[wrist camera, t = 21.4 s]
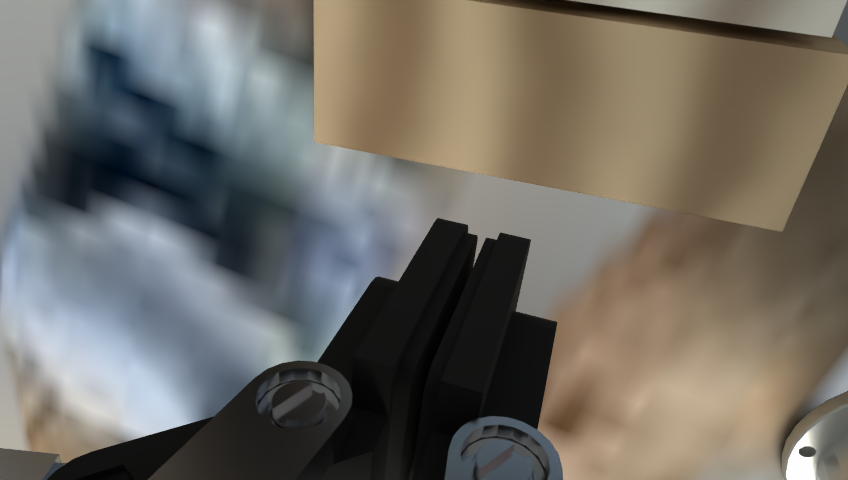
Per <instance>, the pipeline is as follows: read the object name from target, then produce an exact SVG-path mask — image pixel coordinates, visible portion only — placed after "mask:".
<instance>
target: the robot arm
mask: <svg viewBox="0 0 848 480" xmlns="http://www.w3.org/2000/svg"><path fill="white" fill-rule="evenodd" d="M477 238H478V237H477V235H473V234H469V233H468V225H466V224H461V223H457V222H453V221H448V220H444V219H440V218H437V219H436V221H435V222H434V224H433V226H432V227H431V229H430V231H429V232H428V234H427V236H426V237H425V239H424V240H423V242H422V244H421V245H420V247H419V249H418V250H417V252H416V254H415V255H414V257H413V259H412V260H411V262H410V264H409V265H408V267H407V269H406V270H405V272H404V273H403V275H402V277H401V278H400V280H399V282H398V281H394V280H390V279H386V278H382V277H376V278H374V280H373V281H372V282H371V283H370V285H369V286H368V288H367V289H366V291H365V292H364V294H363V295H362V297H361V298H360V300H359V301H358V303H357V304H356V306H355V307H354V309H353V310H352V311H351V313H350V314H349V316H348V317H347V319H346V320H345V322H344V323H343V325H342V326H341V328H340V329H339V331H338V332H337V334H336V335H335V337H334V338H333V340H332V341H331V343H330V344H329V346H328V347H327V349H326V350H325V352H324V353H323V355H322V356H321V357H320V359H319V360H318V362H312V361H293V362H287V363H281V364H279V365H276V366H274V367H271V368H268V369H267V370H265V371H264V372H262V373H261V374H260V375H258V376H257V377H255V378H254V379H253V380H252V381H251V382H250V383H249V384H248V385H247V386H246V387H245V388H244V389H243V390H242V391H241V392H240V393H238V394H237V395H236V396H235V397H234V398H233V399H232V400H231V401H230V402H229V403H228V404H227V405H226V406H225V407H224V408H223V409H222V410H221V411H219V412H218V413H217V414H216V415H215V416H214V417H211V418H207V419H204V420H200V421H197V422H194V423H190V424H187V425H183V426H180V427H176V428H173V429H169V430H166V431H162V432H159V433H155V434H152V435H148V436H145V437H141V438H138V439H134V440H131V441H127V442H124V443H120V444H117V445H114V446H110V447H107V448H103V449H100V450H96V451H93V452H90V453H88V454H85V455H82V456H80V457H77V458H75V459H73V460H71V461H70V462H68V463H62V462H61V458H60V455H59V454H51V453H42V452H32V451H22V450H13V449H3V448H0V480H563V473H562V466H561V462H560V458H559V454H558V453H557V451H556V450H555V448H554V447H553V445H552V443H551V442H550V441H549V440H548V439H547V438H546V437H545V436H544V435H543V434H542V433H541V432H539V431H538V430H537V428H538V423H539V418H540V412H541V407H542V402H543V396H544V391H545V386H546V380H547V375H548V370H549V364H550V359H551V354H552V348H553V343H554V338H555V332H556V326H557V322H555V321H551V320H547V319H543V318H539V317H535V316H531V315H527V314H523V313H520V312H516V307H517V302H518V297H519V293H520V288H521V284H522V279H523V274H524V270H525V265H526V261H527V256H528V252H529V247H530V242H531V240H530V239H526V238H521V237H517V236H513V235H508V234H504V233H500V234H499V236H498V239H497V240H494V239H490V238H486V239H485V242H484V244H483V246H482V249H481V251H480V253H479V255H478V258H477V260H476V263H475V265H474V267H473V264H474V258H475V252H476V246H477ZM782 472H783V476H784V480H848V391H847V392H845V393H843V394H840V395H838V396H836V397H834V398H831V399H829V400H827V401H826V402H824V403H823V404H821V405H819V406H818V407H816V408H815V409H813V410H812V411H810V412H809V413H808V414H807V415H806V416H805V417H804V418H803V419H802V420H801V421H800V422H799V423H798V424H797V425H796V426H795V427H794V429H793V430H792V432H791V434H790V435H789V437H788V438H787V440H786V443H785V446H784V449H783V452H782Z"/></svg>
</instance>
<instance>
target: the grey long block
mask: <svg viewBox="0 0 848 480" xmlns="http://www.w3.org/2000/svg"><path fill="white" fill-rule="evenodd" d="M569 1H577V2H584V3H591V4H598V5H605V6H612V7H619V8H626V9H633V10H640V11H647V12H654V13H661V14H668V15H675V16H683V17H690V18H697V19H704V20H711V21H718V22H725V23H732V24H739V25H746V26H753V27H760V28H767V29H774V30H782V31H789V32H796V33H803V34H810V35H817V36H824V37H831V38H832V36H833V33H834V31H835V28H836V26H837V24H838V21H839V19H840V16H841V14H842V12H843V9H844V7H845V4H846V2H847V0H569Z"/></svg>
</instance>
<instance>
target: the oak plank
mask: <svg viewBox="0 0 848 480" xmlns="http://www.w3.org/2000/svg"><path fill="white" fill-rule="evenodd" d="M847 85H848V46H847V45H845V44H844V43H843V42H842V41H840V40H839V39H838V38H837V37H836V36H834V35H833V36H832V38H831V37H824V36H817V35H810V34H803V33H796V32H789V31H782V30H774V29H767V28H760V27H753V26H746V25H739V24H732V23H725V22H718V21H711V20H704V19H697V18H690V17H683V16H675V15H668V14H661V13H654V12H647V11H640V10H633V9H626V8H619V7H612V6H605V5H598V4H591V3H584V2H577V1H569V0H314V134H315V142H317V143H322V144H328V145H333V146H338V147H343V148H348V149H354V150H359V151H364V152H369V153H374V154H380V155H385V156H390V157H395V158H400V159H406V160H411V161H416V162H421V163H426V164H432V165H437V166H442V167H447V168H453V169H458V170H463V171H468V172H473V173H479V174H484V175H489V176H495V177H500V178H505V179H510V180H515V181H520V182H526V183H531V184H536V185H542V186H546V187H552V188H557V189H562V190H567V191H572V192H578V193H583V194H588V195H593V196H598V197H604V198H609V199H614V200H620V201H624V202H630V203H635V204H640V205H645V206H650V207H656V208H661V209H666V210H671V211H676V212H682V213H687V214H692V215H697V216H702V217H708V218H713V219H718V220H723V221H728V222H734V223H739V224H744V225H749V226H754V227H760V228H765V229H770V230H775V231H780V232H782V231H783V229H784V227H785V225H786V222H787V220H788V218H789V216H790V213H791V211H792V209H793V207H794V204H795V202H796V200H797V198H798V195H799V193H800V191H801V189H802V186H803V184H804V182H805V180H806V177H807V175H808V173H809V171H810V168H811V166H812V164H813V162H814V159H815V157H816V155H817V153H818V150H819V148H820V146H821V144H822V141H823V139H824V137H825V135H826V132H827V130H828V128H829V126H830V123H831V121H832V119H833V117H834V114H835V112H836V110H837V108H838V105H839V103H840V101H841V99H842V96H843V94H844V92H845V90H846V87H847Z"/></svg>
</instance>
